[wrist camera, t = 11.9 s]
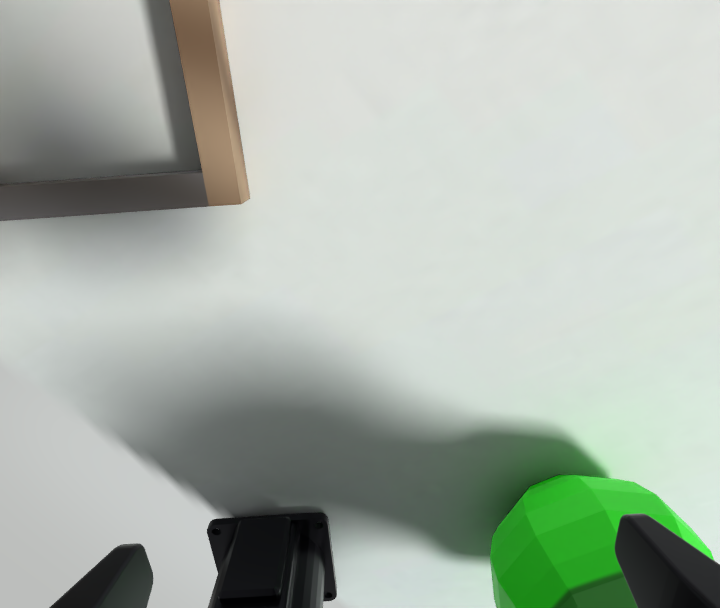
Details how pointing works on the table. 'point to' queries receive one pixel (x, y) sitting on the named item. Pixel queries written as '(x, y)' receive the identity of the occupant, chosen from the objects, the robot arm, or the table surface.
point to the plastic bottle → (572, 543)
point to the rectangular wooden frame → (173, 189)
